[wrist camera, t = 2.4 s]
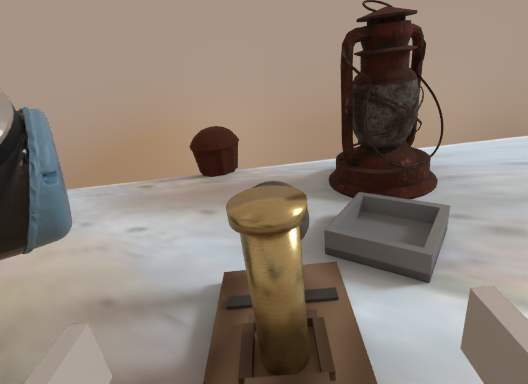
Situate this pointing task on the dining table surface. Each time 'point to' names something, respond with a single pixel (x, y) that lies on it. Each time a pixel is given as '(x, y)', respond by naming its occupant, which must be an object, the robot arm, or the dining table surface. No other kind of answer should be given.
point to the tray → (389, 234)
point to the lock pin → (274, 272)
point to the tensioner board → (318, 324)
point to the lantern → (383, 109)
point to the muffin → (215, 151)
